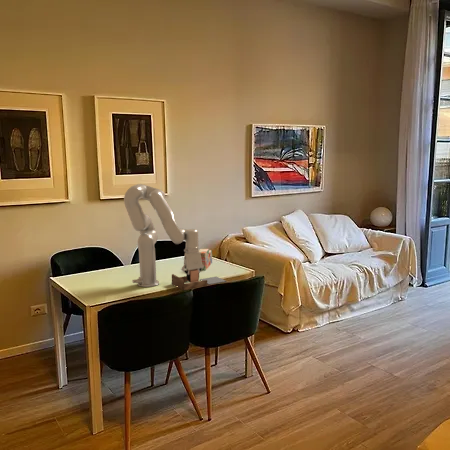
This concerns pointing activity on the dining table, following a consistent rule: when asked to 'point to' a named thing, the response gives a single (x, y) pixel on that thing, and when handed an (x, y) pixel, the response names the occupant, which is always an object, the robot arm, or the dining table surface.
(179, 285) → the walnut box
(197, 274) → the terracotta block
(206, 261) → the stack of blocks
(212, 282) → the slate mat
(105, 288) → the dining table surface
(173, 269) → the dining table surface
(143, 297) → the dining table surface
